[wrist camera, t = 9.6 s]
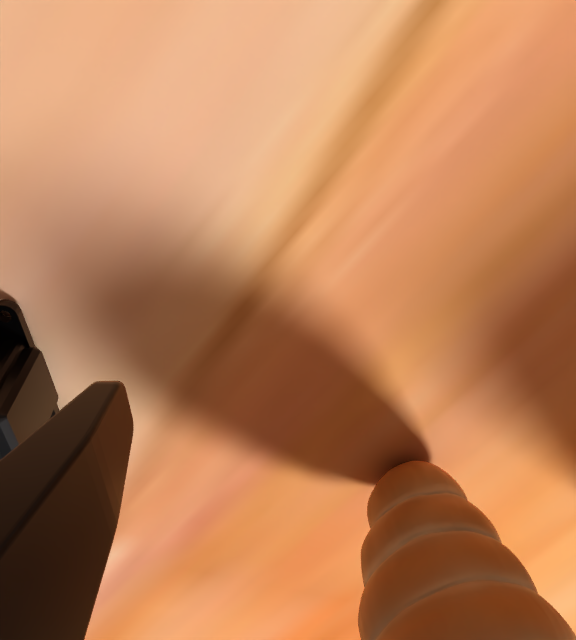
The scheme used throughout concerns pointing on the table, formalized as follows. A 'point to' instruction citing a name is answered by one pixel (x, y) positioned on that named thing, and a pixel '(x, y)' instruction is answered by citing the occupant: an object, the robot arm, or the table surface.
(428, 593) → the spiral seashell
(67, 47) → the table surface
